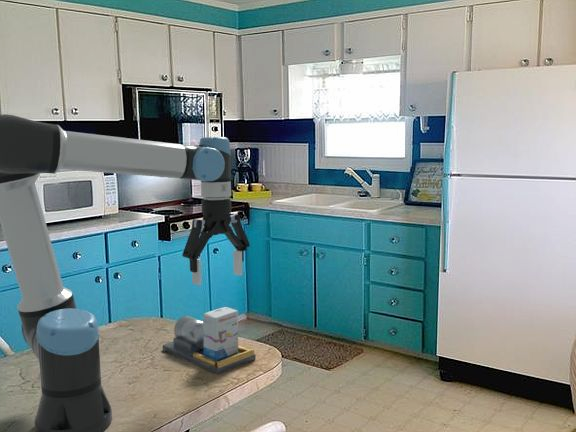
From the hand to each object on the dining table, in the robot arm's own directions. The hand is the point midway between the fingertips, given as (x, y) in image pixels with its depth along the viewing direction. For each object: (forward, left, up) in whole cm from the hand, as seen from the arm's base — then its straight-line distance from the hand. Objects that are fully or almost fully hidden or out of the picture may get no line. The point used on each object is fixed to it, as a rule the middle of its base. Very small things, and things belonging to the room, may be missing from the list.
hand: (218, 279), depth 154 cm
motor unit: (0, +5, -22) cm, 23 cm away
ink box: (0, 0, -21) cm, 21 cm away
